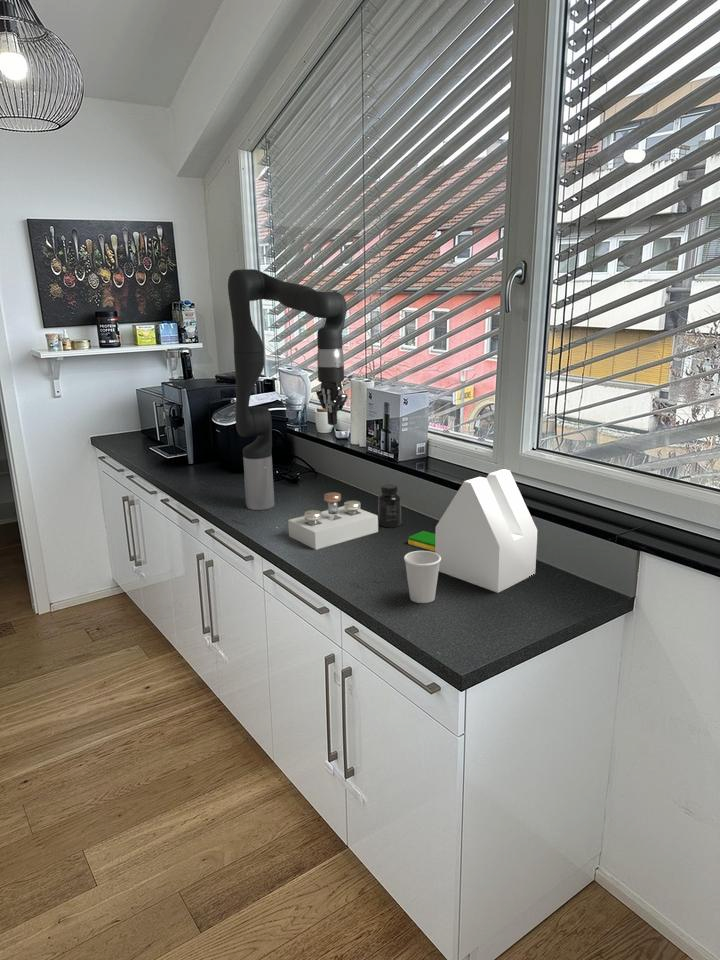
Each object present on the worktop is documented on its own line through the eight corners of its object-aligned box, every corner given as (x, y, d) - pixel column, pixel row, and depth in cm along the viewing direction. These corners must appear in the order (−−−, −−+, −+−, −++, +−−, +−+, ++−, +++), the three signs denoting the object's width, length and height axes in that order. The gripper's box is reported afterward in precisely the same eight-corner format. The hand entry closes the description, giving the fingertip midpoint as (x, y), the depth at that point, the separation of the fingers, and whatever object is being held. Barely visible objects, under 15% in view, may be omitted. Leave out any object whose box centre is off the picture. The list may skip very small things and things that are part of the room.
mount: (289, 536, 196) (288, 519, 195) (349, 520, 209) (349, 504, 207) (315, 549, 185) (315, 532, 184) (378, 531, 198) (377, 515, 197)
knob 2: (341, 520, 201) (340, 502, 199) (354, 516, 204) (353, 499, 202) (351, 524, 197) (350, 506, 196) (364, 520, 200) (363, 503, 198)
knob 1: (301, 530, 193) (300, 512, 191) (315, 527, 195) (315, 509, 194) (311, 535, 189) (310, 516, 187) (325, 531, 192) (324, 513, 190)
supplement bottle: (404, 522, 206) (404, 484, 203) (396, 529, 200) (395, 490, 197) (383, 519, 209) (383, 482, 205) (374, 526, 203) (374, 488, 199)
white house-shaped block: (435, 570, 170) (436, 474, 163) (473, 553, 180) (475, 463, 174) (497, 593, 157) (501, 490, 150) (535, 574, 167) (540, 476, 160)
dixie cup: (419, 586, 160) (419, 547, 158) (447, 597, 155) (448, 556, 152) (396, 598, 155) (396, 557, 152) (425, 609, 149) (425, 567, 146)
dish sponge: (448, 557, 179) (448, 548, 179) (407, 545, 188) (407, 537, 188) (463, 549, 184) (463, 541, 184) (422, 538, 193) (423, 530, 193)
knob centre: (321, 512, 196) (320, 494, 194) (335, 509, 198) (334, 491, 197) (331, 516, 192) (330, 498, 190) (344, 513, 195) (344, 494, 193)
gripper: (306, 364, 194) (309, 423, 199) (333, 367, 184) (335, 429, 189) (328, 362, 199) (330, 420, 203) (355, 365, 189) (356, 426, 193)
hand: (332, 424), depth 196 cm, fingers closed
